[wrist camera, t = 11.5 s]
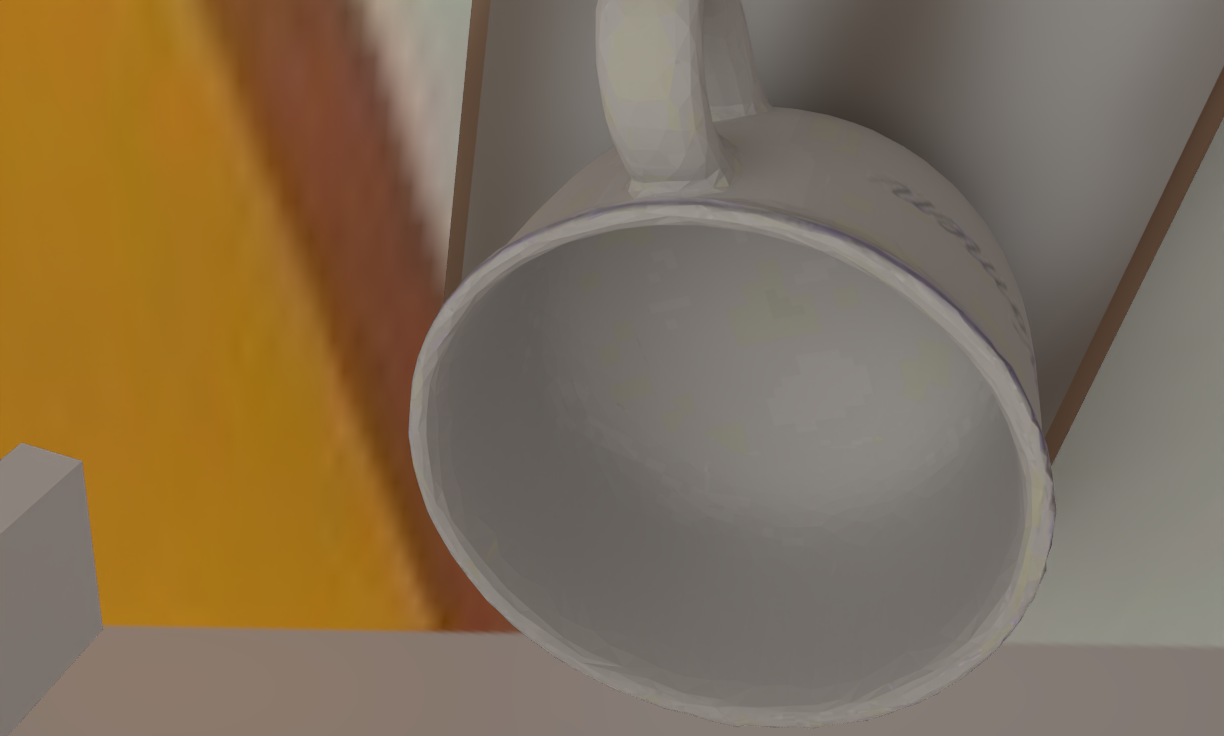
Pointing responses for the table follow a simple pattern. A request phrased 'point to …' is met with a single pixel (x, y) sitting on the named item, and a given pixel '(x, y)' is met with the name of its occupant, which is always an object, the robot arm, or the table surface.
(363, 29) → the table surface
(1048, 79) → the walnut riser
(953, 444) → the teacup
